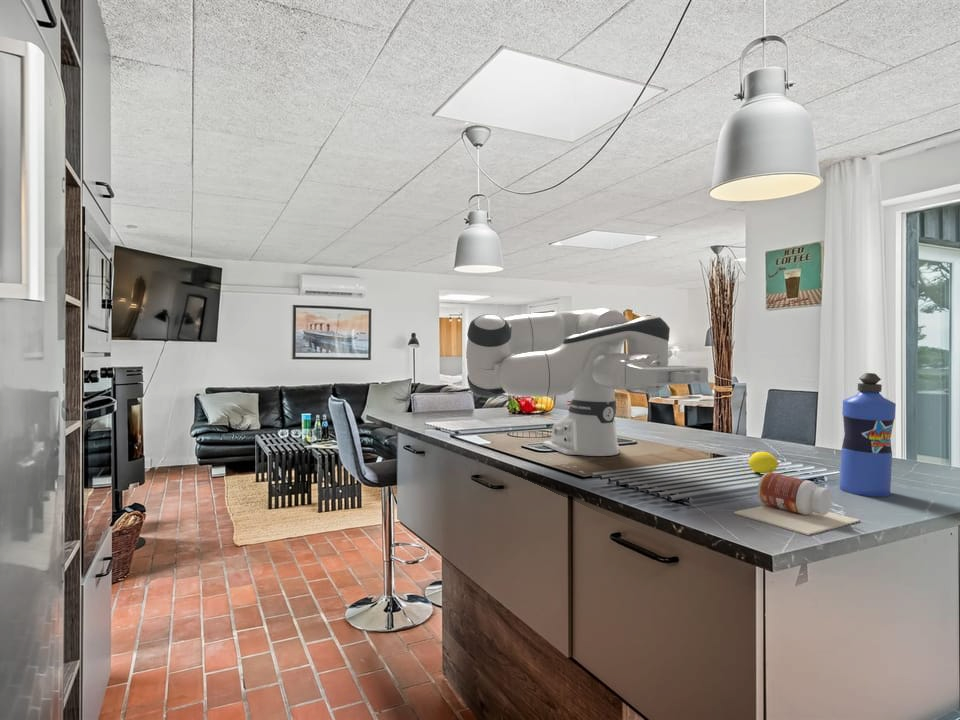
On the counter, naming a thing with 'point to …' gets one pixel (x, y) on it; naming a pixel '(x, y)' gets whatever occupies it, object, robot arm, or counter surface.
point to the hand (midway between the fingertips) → (697, 377)
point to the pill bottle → (793, 494)
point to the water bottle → (867, 440)
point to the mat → (797, 519)
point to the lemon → (763, 462)
